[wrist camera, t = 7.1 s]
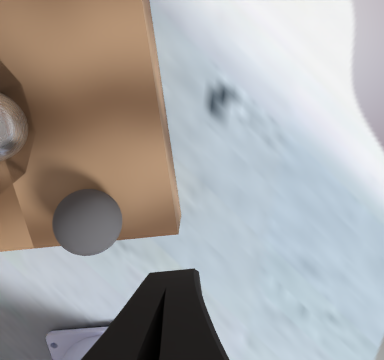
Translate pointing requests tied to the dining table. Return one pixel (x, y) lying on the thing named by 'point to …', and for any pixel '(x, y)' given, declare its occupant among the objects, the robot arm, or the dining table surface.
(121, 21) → the brown wooden hole board
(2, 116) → the steel ball
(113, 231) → the gray ball
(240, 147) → the dining table surface
